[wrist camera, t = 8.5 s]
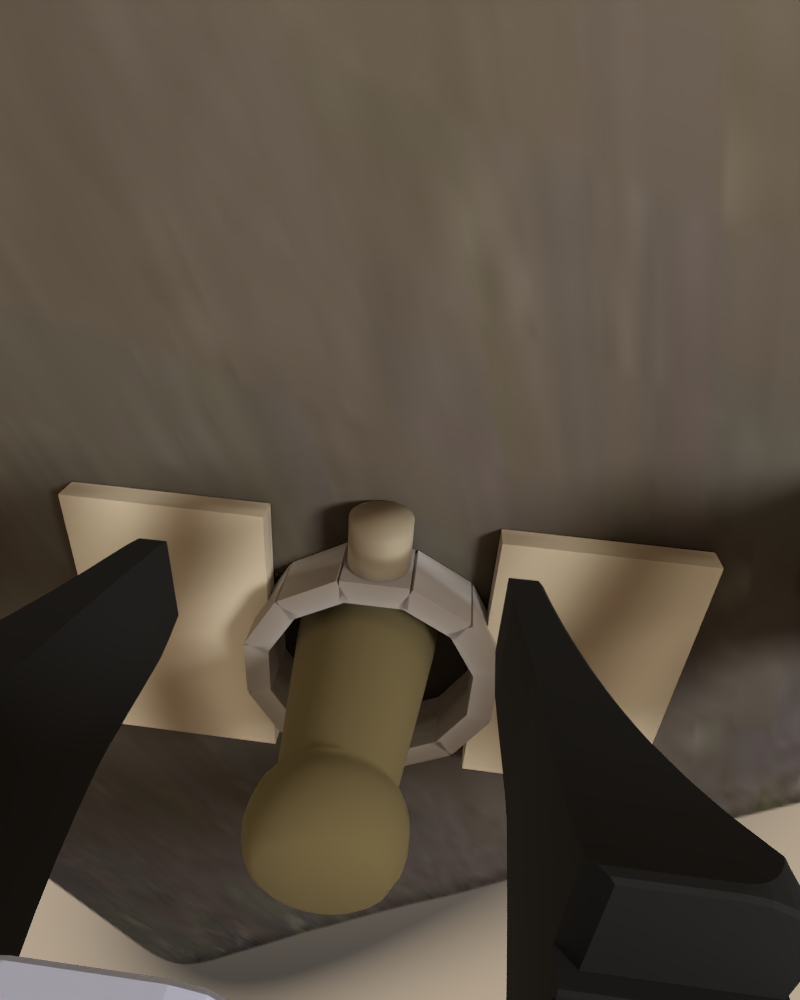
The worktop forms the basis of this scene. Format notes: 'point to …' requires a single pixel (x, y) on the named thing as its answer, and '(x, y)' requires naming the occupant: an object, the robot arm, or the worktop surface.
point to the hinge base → (391, 584)
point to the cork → (341, 762)
